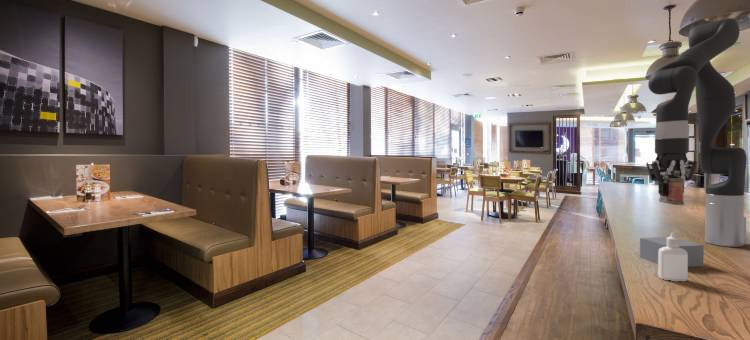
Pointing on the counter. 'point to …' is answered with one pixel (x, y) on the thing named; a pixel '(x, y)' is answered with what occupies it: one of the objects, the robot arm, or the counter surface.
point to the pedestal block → (652, 245)
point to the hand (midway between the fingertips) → (671, 195)
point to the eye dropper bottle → (673, 261)
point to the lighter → (674, 190)
